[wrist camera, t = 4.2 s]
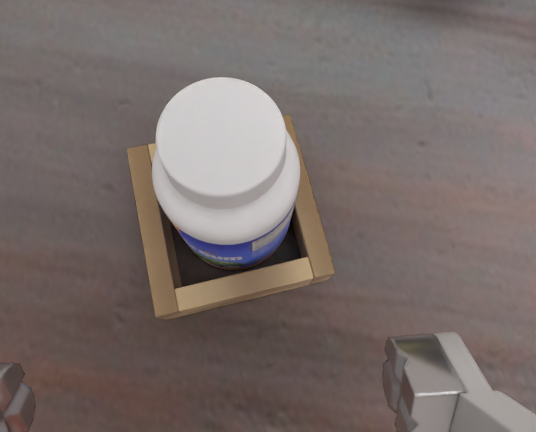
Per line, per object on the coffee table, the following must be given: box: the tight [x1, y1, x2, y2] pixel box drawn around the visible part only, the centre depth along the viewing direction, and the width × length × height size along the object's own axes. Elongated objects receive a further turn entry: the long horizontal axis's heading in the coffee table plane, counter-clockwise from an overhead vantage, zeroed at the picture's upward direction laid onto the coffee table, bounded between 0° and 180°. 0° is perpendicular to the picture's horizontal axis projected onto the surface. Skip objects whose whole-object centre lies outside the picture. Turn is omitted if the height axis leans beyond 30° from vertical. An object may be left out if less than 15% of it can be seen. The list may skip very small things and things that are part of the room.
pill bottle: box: [152, 77, 300, 270], centre depth 18 cm, size 5×5×10 cm
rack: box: [127, 114, 335, 320], centre depth 21 cm, size 8×8×2 cm
